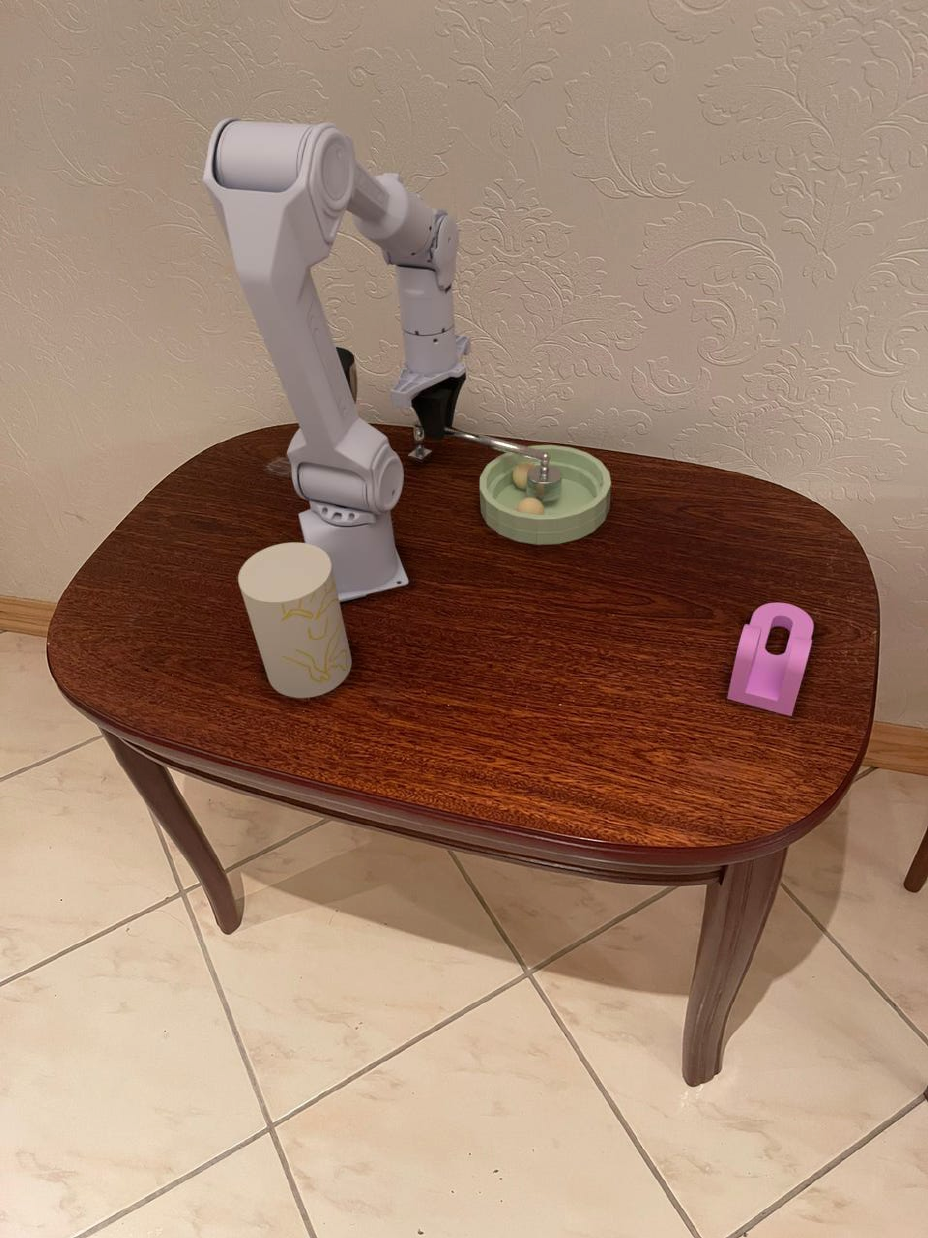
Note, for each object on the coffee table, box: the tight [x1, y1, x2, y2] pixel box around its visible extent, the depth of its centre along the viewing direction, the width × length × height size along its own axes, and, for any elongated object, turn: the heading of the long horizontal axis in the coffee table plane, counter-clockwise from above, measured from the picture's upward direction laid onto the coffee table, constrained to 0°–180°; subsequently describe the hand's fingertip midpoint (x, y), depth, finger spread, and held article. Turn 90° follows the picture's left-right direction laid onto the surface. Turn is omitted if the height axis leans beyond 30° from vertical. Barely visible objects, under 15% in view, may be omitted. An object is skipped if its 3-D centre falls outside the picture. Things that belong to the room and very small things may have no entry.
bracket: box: [726, 602, 815, 717], centre depth 80 cm, size 13×6×7 cm, turn 155°
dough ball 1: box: [513, 462, 536, 490], centre depth 104 cm, size 3×3×3 cm
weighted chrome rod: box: [407, 417, 562, 501], centre depth 103 cm, size 20×4×5 cm, turn 59°
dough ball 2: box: [516, 498, 545, 515], centre depth 98 cm, size 3×3×3 cm
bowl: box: [479, 444, 612, 546], centre depth 101 cm, size 15×15×4 cm
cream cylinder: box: [237, 542, 353, 699], centre depth 82 cm, size 8×8×12 cm
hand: (438, 434), depth 105 cm, fingers closed on weighted chrome rod
